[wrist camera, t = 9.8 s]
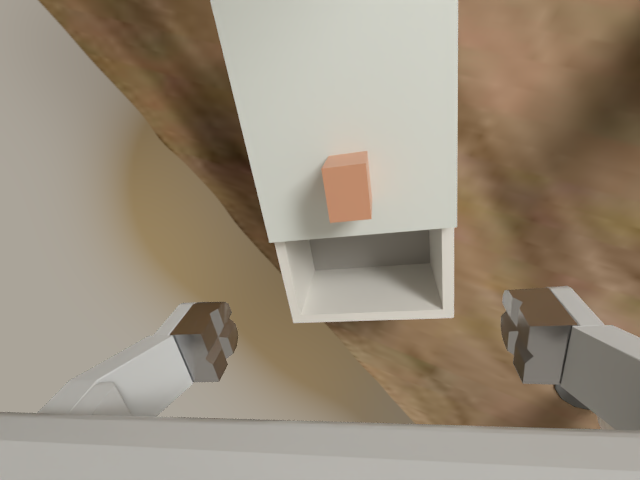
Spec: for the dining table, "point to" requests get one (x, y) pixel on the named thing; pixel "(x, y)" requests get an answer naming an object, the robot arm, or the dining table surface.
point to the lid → (346, 112)
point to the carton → (370, 276)
